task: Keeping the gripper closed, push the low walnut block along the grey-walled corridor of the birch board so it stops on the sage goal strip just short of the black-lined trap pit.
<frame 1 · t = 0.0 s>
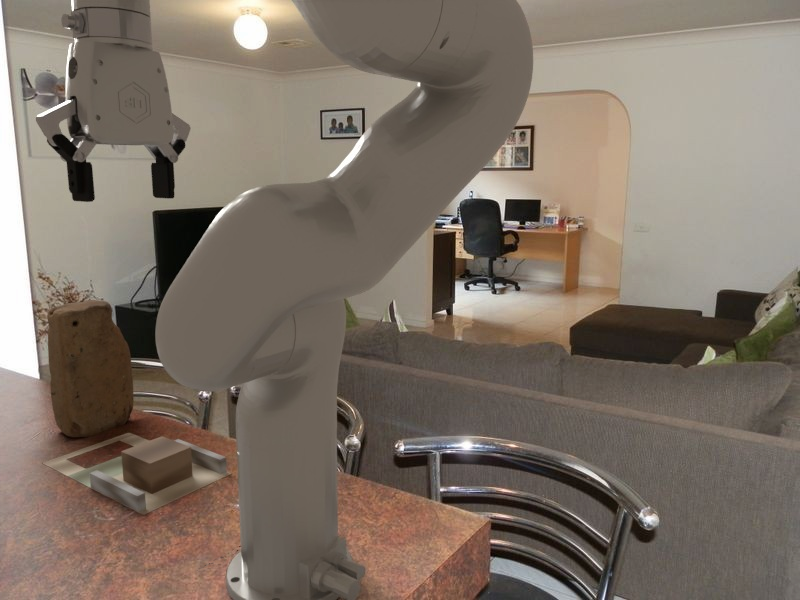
hand: (125, 199, 73), 37 cm above the kitchen counter, tool pointing down, fingers open, 9 cm apart
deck: (135, 475, 88), on the kitchen counter
walnut block: (158, 478, 85), point 1 cm above the kitchen counter, touching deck
block: (97, 428, 104), on the kitchen counter
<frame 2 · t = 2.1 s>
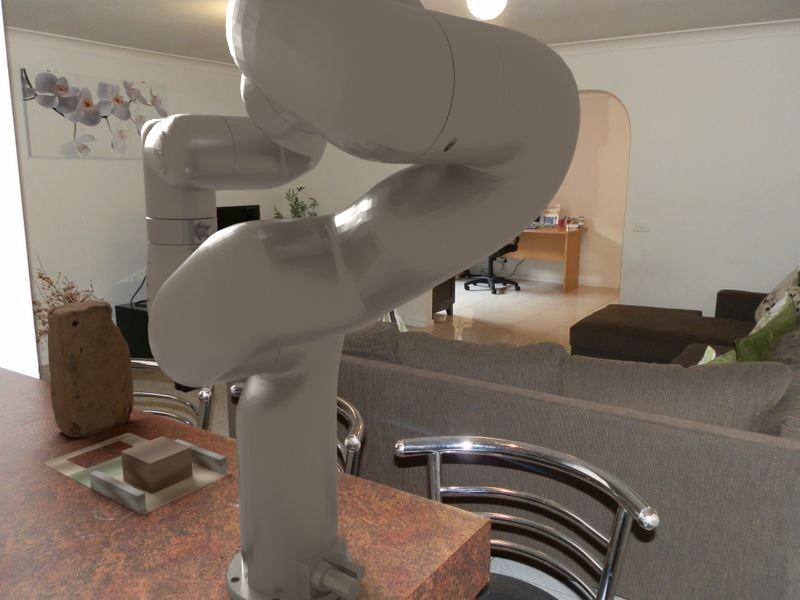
hand: (190, 388, 78), 15 cm above the kitchen counter, tool pointing down, fingers closed
nothing on the kitchen counter moved.
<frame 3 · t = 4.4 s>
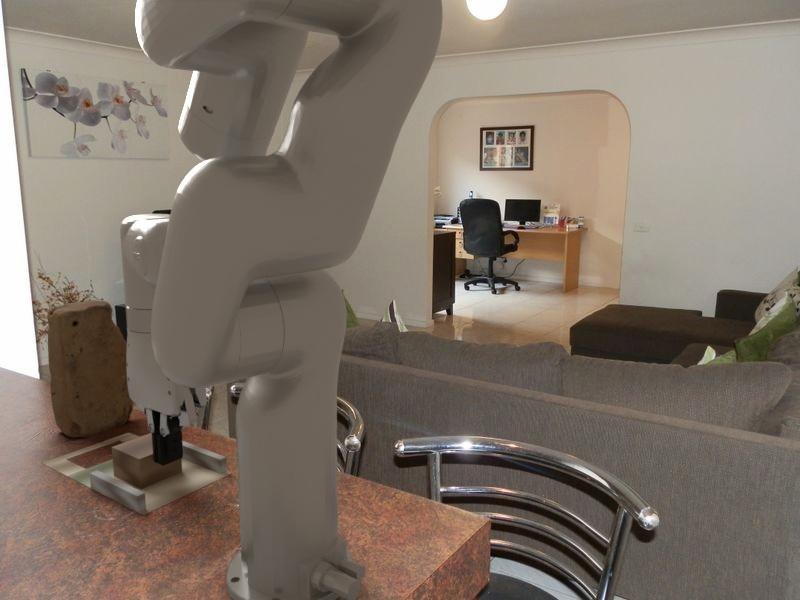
hand: (168, 460, 84), 4 cm above the kitchen counter, tool pointing down, fingers closed
walnut block: (148, 473, 87), point 1 cm above the kitchen counter
everything else where it was.
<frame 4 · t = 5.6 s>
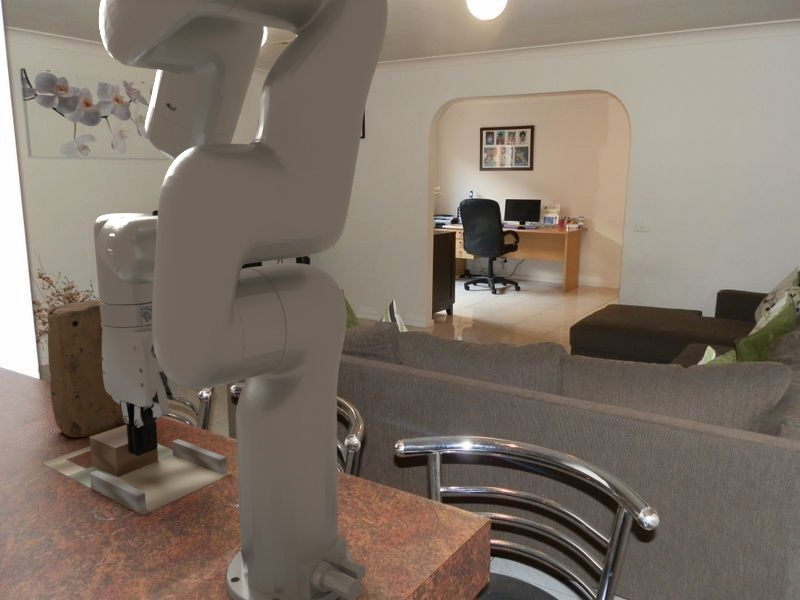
hand: (143, 450, 86), 4 cm above the kitchen counter, tool pointing down, fingers closed
walnut block: (125, 463, 90), point 1 cm above the kitchen counter, touching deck
everything else where it was.
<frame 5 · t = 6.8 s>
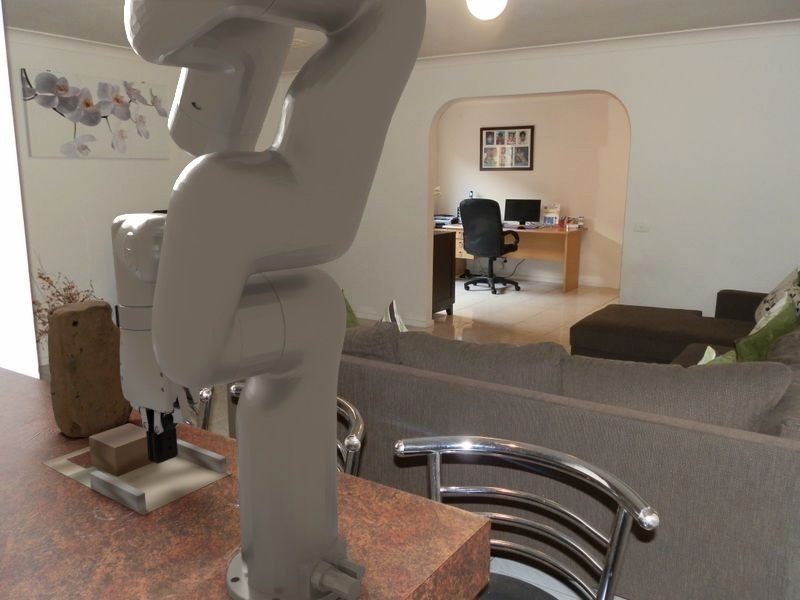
hand: (163, 458, 84), 4 cm above the kitchen counter, tool pointing down, fingers closed
nothing on the kitchen counter moved.
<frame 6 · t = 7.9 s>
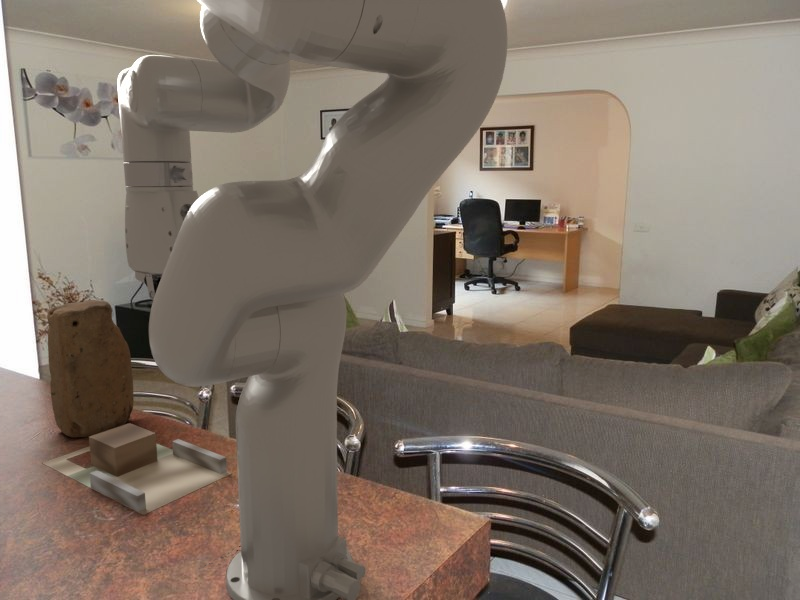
hand: (170, 330, 82), 21 cm above the kitchen counter, tool pointing down, fingers closed
nothing on the kitchen counter moved.
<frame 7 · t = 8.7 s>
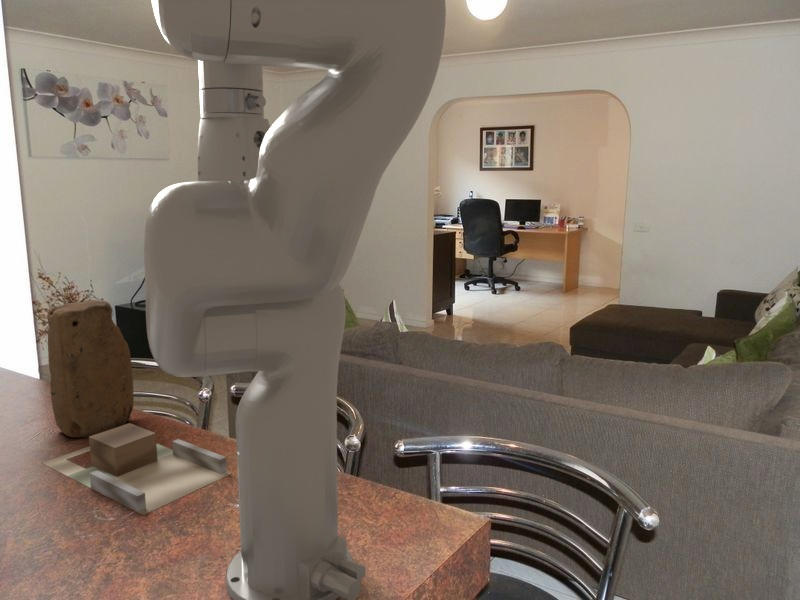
hand: (238, 256, 85), 29 cm above the kitchen counter, tool pointing down, fingers closed
nothing on the kitchen counter moved.
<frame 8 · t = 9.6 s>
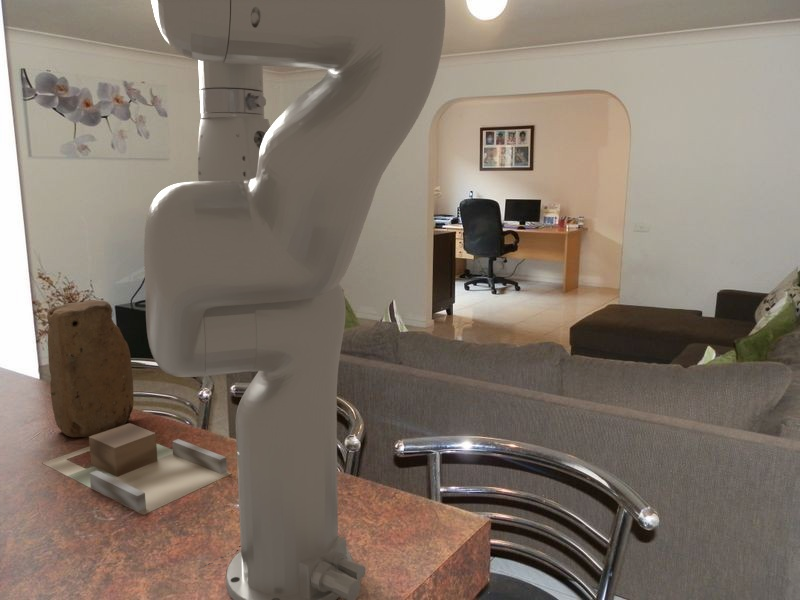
hand: (238, 256, 85), 29 cm above the kitchen counter, tool pointing down, fingers closed
nothing on the kitchen counter moved.
at the end: walnut block 0.1 cm from the target spot on the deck, point 1.0 cm above the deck's base; walnut block tilted 0° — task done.
